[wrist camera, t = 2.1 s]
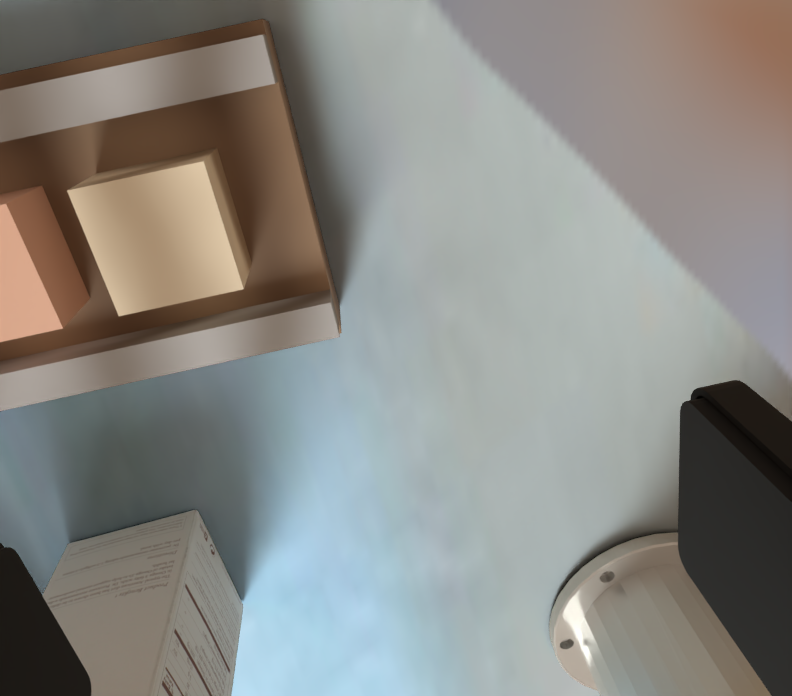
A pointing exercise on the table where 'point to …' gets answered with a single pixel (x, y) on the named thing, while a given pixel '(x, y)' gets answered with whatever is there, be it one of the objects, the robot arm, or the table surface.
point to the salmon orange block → (35, 268)
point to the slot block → (150, 141)
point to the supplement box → (150, 610)
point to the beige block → (163, 231)
